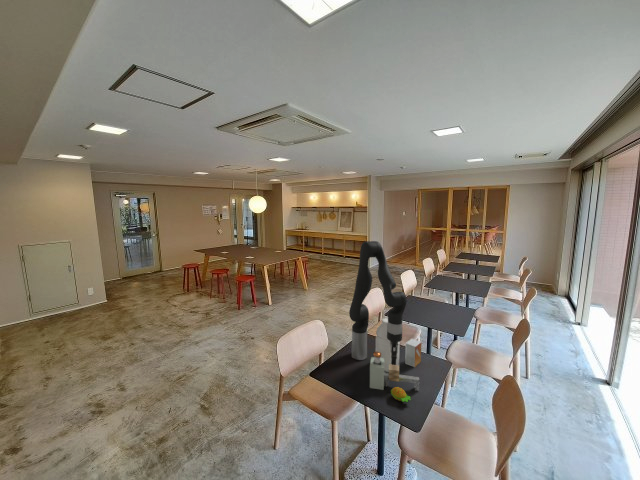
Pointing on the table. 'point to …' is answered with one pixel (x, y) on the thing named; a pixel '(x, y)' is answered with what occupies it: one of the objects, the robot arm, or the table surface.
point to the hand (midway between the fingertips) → (393, 359)
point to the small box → (413, 352)
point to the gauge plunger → (377, 357)
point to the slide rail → (404, 380)
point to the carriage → (394, 373)
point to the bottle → (385, 345)
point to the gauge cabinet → (377, 374)
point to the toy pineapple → (400, 394)
